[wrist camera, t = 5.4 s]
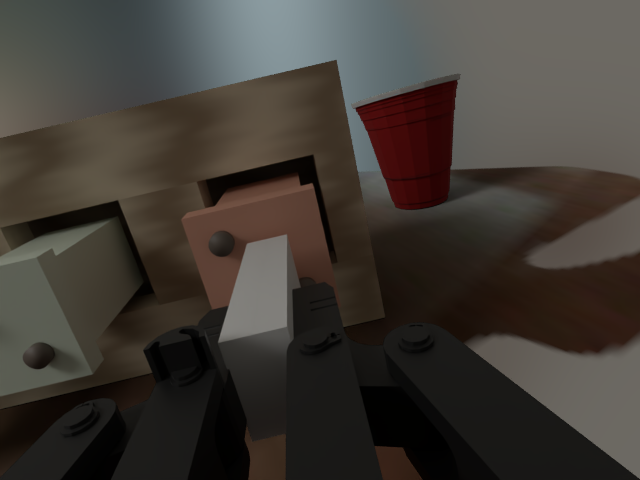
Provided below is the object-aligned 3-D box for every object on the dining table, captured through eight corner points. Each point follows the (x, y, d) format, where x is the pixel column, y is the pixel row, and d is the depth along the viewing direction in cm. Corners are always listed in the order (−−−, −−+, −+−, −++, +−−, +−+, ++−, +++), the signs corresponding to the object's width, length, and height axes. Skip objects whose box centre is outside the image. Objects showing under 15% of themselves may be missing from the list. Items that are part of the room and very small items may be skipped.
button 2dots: (-42, 411, 15) (-116, 295, 14) (70, 307, 23) (32, 226, 22) (88, 380, 15) (29, 261, 14) (155, 287, 23) (123, 204, 22)
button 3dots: (219, 340, 16) (178, 222, 14) (241, 263, 24) (216, 181, 22) (342, 311, 16) (314, 190, 14) (323, 243, 24) (304, 161, 22)
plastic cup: (420, 183, 51) (406, 84, 47) (495, 190, 42) (485, 66, 38) (350, 210, 46) (329, 102, 42) (417, 224, 37) (397, 87, 33)
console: (-124, 438, 23) (-296, 206, 19) (-1, 339, 33) (-94, 172, 29) (385, 317, 23) (336, 59, 19) (355, 254, 33) (318, 76, 29)
